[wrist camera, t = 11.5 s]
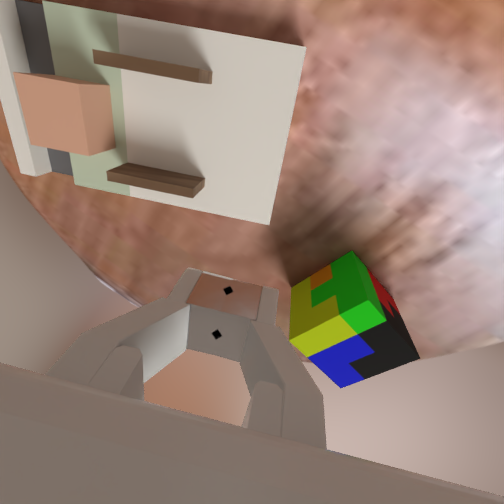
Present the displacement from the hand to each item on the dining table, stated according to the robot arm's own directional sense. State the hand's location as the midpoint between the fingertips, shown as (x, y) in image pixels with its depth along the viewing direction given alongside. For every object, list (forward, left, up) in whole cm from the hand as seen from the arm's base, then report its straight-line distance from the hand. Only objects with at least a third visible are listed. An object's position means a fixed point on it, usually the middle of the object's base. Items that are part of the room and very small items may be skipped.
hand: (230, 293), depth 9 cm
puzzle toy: (+17, +13, -26) cm, 33 cm away
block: (-1, -21, -23) cm, 31 cm away
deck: (-1, -15, -26) cm, 30 cm away
